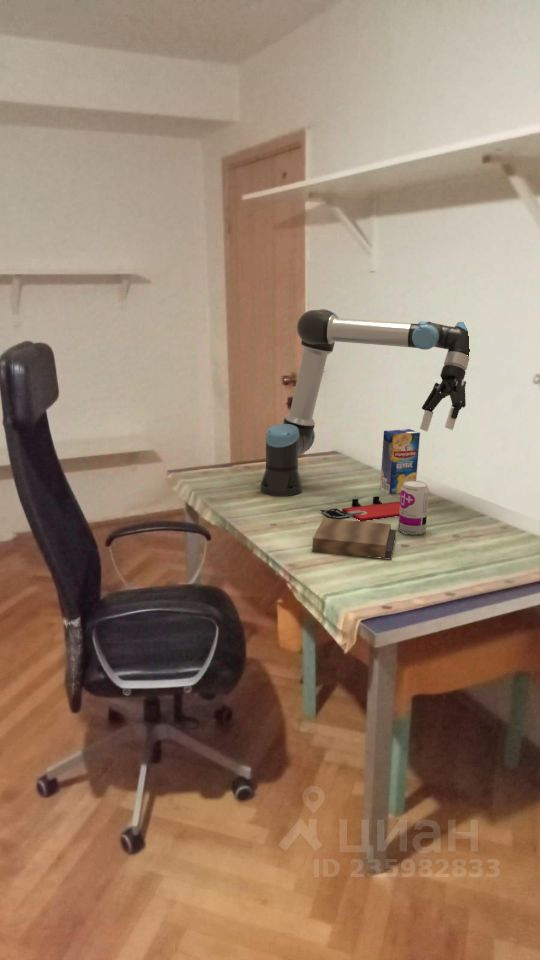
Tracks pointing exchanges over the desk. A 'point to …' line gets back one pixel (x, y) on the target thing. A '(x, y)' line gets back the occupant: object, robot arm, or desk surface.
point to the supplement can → (413, 507)
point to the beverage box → (399, 459)
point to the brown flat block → (354, 538)
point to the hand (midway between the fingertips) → (435, 429)
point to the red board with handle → (366, 510)
